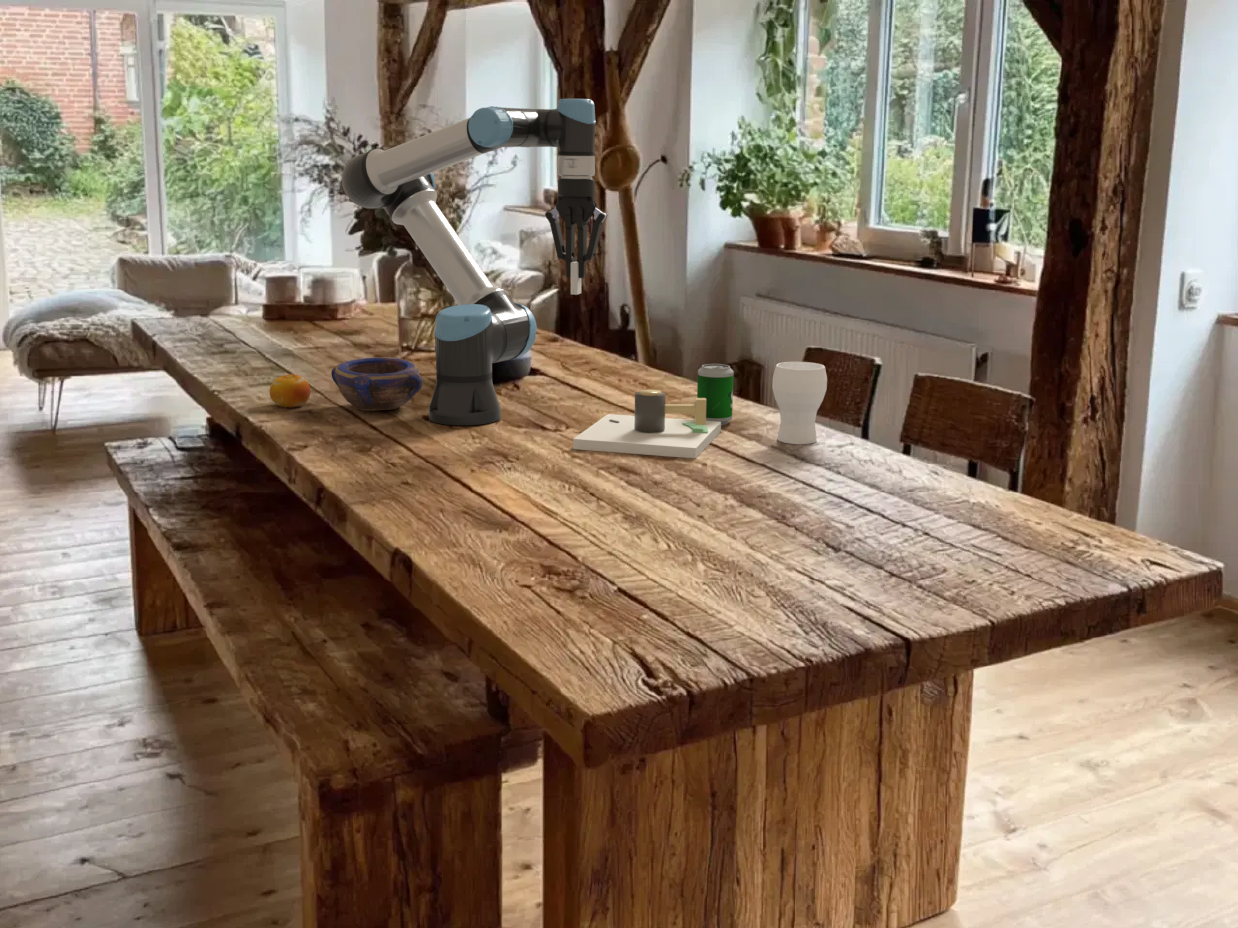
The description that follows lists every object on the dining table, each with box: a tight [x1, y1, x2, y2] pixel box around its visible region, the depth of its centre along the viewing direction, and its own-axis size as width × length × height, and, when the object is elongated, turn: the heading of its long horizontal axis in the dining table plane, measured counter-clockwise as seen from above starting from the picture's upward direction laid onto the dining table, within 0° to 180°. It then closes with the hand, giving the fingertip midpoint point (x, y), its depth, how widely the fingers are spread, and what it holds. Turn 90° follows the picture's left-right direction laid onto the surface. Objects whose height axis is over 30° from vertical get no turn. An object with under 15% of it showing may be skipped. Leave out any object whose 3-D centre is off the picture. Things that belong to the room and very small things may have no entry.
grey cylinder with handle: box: [634, 389, 706, 432], centre depth 252 cm, size 14×6×7 cm, turn 92°
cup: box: [771, 361, 828, 445], centre depth 253 cm, size 11×11×15 cm
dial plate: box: [572, 413, 722, 459], centre depth 253 cm, size 24×24×2 cm
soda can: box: [696, 363, 735, 426], centre depth 269 cm, size 8×8×12 cm
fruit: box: [269, 374, 311, 408], centre depth 281 cm, size 8×8×8 cm
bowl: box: [330, 356, 424, 412], centre depth 279 cm, size 18×18×10 cm
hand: (576, 293), depth 266 cm, fingers closed
